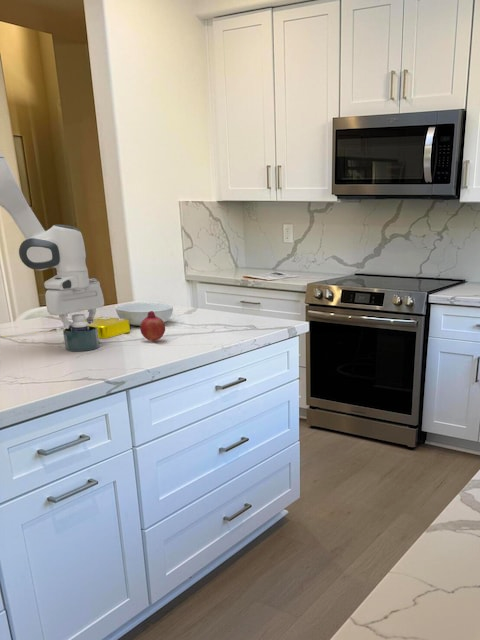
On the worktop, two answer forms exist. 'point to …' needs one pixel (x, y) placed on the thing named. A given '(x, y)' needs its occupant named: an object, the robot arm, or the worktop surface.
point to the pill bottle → (79, 323)
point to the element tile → (110, 326)
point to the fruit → (152, 327)
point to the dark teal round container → (81, 339)
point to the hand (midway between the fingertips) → (79, 325)
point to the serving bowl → (143, 311)
